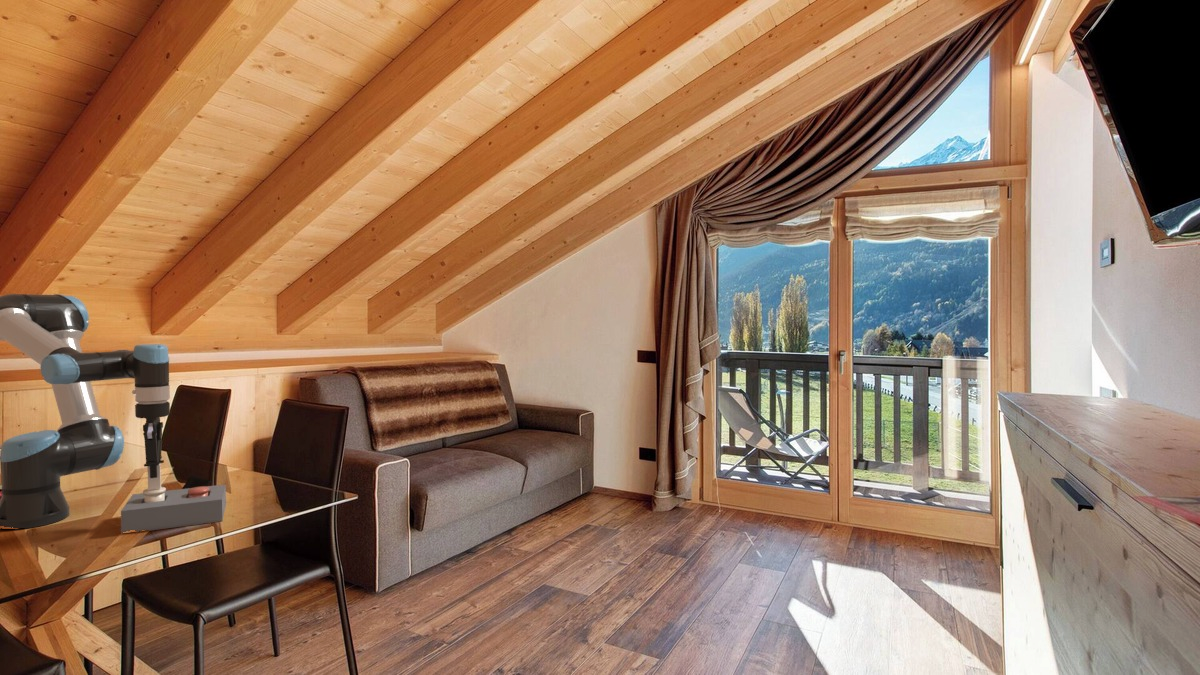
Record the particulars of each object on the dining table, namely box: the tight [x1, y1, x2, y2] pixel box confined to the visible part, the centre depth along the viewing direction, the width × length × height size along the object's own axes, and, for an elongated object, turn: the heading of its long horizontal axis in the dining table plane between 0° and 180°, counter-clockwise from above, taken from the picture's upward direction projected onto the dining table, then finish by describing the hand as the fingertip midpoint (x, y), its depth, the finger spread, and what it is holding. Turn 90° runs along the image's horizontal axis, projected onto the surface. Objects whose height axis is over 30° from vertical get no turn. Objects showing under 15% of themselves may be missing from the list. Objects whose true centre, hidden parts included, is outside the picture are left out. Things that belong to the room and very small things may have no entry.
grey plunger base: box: [120, 484, 227, 533], centre depth 170 cm, size 16×22×6 cm
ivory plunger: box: [142, 486, 167, 503], centre depth 167 cm, size 5×5×7 cm
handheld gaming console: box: [181, 475, 212, 489], centre depth 187 cm, size 12×7×10 cm
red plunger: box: [188, 486, 209, 498], centre depth 172 cm, size 5×5×7 cm
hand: (154, 488), depth 167 cm, fingers closed
